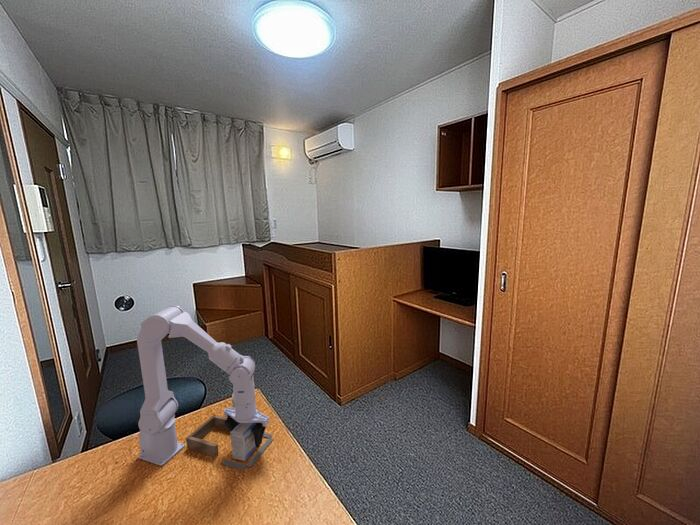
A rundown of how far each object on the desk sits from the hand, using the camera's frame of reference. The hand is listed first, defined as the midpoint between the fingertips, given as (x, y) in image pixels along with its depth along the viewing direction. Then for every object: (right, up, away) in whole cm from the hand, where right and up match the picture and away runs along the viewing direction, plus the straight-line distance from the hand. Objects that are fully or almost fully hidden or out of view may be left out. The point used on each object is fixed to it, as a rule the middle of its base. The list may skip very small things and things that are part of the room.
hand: (248, 441), depth 89 cm
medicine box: (0, -3, 0) cm, 3 cm away
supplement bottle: (-8, 0, +17) cm, 19 cm away
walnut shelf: (-12, -2, +4) cm, 13 cm away
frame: (0, -2, 0) cm, 2 cm away
